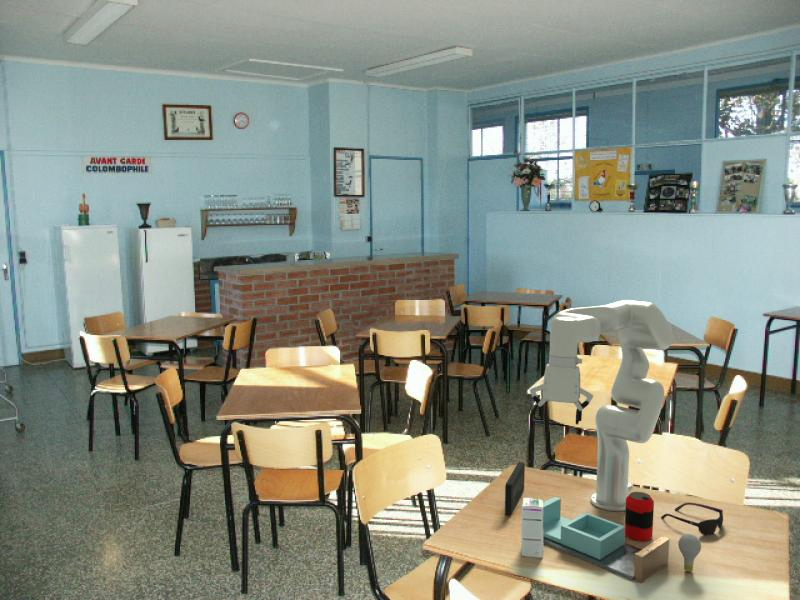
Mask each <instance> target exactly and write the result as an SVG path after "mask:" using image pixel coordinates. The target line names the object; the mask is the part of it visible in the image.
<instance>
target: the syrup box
mask: <svg viewBox="0 0 800 600" xmlns="http://www.w3.org/2000/svg"><path fill="white" fill-rule="evenodd" d="M543 502H544V499H543V498H535V497H523V498H522V502H521V556H522V557H528V558H537V559H538V558H540V559H542V558H543V555H544V543H543V531H544V518H543Z"/></svg>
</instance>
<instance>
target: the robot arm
mask: <svg viewBox="0 0 800 600" xmlns="http://www.w3.org/2000/svg"><path fill="white" fill-rule="evenodd" d="M615 332H617V335H618V340H619V343H620V348H621V353H622V356H621V359H622V360H621V363H620V366H619V369H618V371H617V374H616V377H615V379H614V382H613V385H612V388H611V392H610V393H611V395H610V396H611V399H612V400H613V401H614V402H616V403H618V404H620V405H621V404H622V405H624V406H628V407H632V408H636V409H632V408H628V407H624V406H620V405H619V406H618V405H614V404H605V405H603V406H601V407H599V408H598V410H596V414H595V419H594V421H595V427H596V434H597V435H596V436H597V456H596V457H597V458H596V459H597V460H596V461H597V462H596V463H597V464H596V491H595V493H593V494H592V495H590V502H591V504H592V505H593V506H595V507H597V508H600V509H601V510H605V511H611V512H622V511H625V510H626V498H627V497H628V496H629V494H630V492H631V491H633V490H634V486H633V485H632V484H629V471H630V469H629V467H630V449H629V445H628V441H629V442H633V443H635V444H646V443H647V442H649V440H650V439H651V438H652V435H653V433H654V430H655V428H656V425H657V422H658V419H659V416H660V414H661V412H662V411H661V410H662V408H663V405H664V402H665V389H664V386H663V384H662V383H661V382H660V381H658V380H655V379H651V378H647V375H648V372H649V369H650V362H649V359H648V357H647V355H646V353H645V351H644V349H648V350H649V349H650V350H656V351H665V350H667V349H669V348H670V347H671V346H672V343H673V340H674V332H673V328H672V326H671V325H670V323H669V322H668V320H667V318H666V317H665V315H664V314H663V312H662V311H661V309H660V307H658V306H657V305H656V304H654V303H652V302H650V301H649V302H648V301H639V300H631V299H622V300H618V301H615V302H611V303H608V304H607V303H606V304H604V305H596V306H595V305H594V306H585V307H575V308H573V307H572V308H568V309H564V310H561V311H558V312H557V313H556V314H554V316H552V319H551V321H550V334H549V335H550V337H549V353H548V354H549V355H548V363H547V364H546V365H545V366H546V367H545V370H544V375H543V381H542V383H541V384H540V385H536V386H534V387H532V388H530V390H529V393H530V395H531V397H532V399H533V401H534V402H535V403H536V404H537V406H538V417H539V418H540V421H542V422H543V421H544V419H545V414H546V413H545V412H546V404H545V403H546V402H547V401H548V402H555V403H556V402H557V403H565V404H574V406H575V407H576V410H575V425H579V424H580V422H582V416H583V410H584V409H585V408H587V407H588V406H589V404H590V403H591V402H592V400H593V398H594V394H593V393H591V392H589V391H587V390H586V389H584V388H583V387H581V370H580V366H579V364H581V365H582V363H583V358H579V357H578V348H579V347H578V345H579V343H591V342H594V341H596V340H597V339H598V338H599V337H600V336H601V335H604V334H606V335H607V334H612V333H615ZM643 348H644V349H643ZM539 391H542V393H541V394H542V397H541V398H540V397H539V396H538V395H537V392H539ZM581 395H582V396H584V397H586V398H585V401H583V402H581V400H580V398H581ZM637 409H639V410H637Z"/></svg>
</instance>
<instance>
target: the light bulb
mask: <svg viewBox="0 0 800 600" xmlns="http://www.w3.org/2000/svg"><path fill="white" fill-rule="evenodd" d="M678 549H679V552H680V553H681V555H682V556H683V563H684V565H683V569H684V570H685V572H687V573H690V572H693V571H694V568H693V567H694V562H695V561H694V560H695V559H696V558H697V556H698V555H699V554H700V552H701V550H702V543H701V541H700V539H699V538H698V537H697V536H696V535H694V534H691V533H686V534H683V535H682V536H681V537H680V538H679V540H678Z"/></svg>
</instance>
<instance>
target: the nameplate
mask: <svg viewBox="0 0 800 600" xmlns="http://www.w3.org/2000/svg"><path fill="white" fill-rule="evenodd" d="M525 464H526V463H525V462H523V461H522V462H521V461H517V463H516V465H515V467H514V469H513V471H512V473H511V474H510V476H509V478H508V479H507V481H506V482H505V487H504V489H505V490H504V499H505V500H504V514H505V515H506V516H513V513H514V511H515V509H516V508H517V505H518V503H519V501H520V499H521V497H522V495H523V493H524V492H525V476H526V475H525V469H526V466H525Z"/></svg>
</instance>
